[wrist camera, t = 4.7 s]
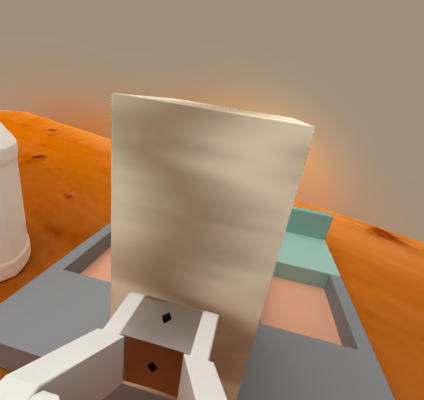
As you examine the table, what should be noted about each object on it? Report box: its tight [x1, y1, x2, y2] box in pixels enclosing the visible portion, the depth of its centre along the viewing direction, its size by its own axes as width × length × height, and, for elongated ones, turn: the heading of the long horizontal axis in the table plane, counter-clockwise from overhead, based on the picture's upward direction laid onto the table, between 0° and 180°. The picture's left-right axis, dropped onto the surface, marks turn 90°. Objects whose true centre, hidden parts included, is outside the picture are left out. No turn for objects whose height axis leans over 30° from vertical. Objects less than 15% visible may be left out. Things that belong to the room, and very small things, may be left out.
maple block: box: [111, 93, 315, 400], centre depth 12 cm, size 6×6×13 cm
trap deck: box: [0, 206, 395, 400], centre depth 22 cm, size 23×22×5 cm
